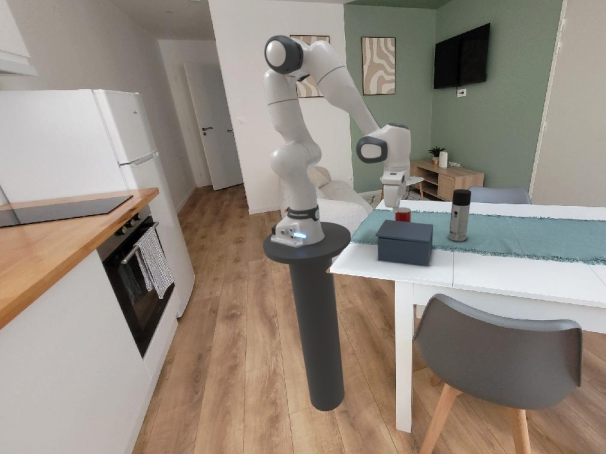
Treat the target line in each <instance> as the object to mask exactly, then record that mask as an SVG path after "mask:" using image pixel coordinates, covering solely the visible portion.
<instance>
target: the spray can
mask: <svg viewBox="0 0 606 454" xmlns="http://www.w3.org/2000/svg"><path fill="white" fill-rule="evenodd" d="M471 200H472V191H471V190H470V189H466V188H464V189H463V188H458V189H454V190H453V191H452V201H451V209H450V210H451V211H450V219H449V220H450V221H449V231H448V232H449V233H448V238H449V240H451V241H453V242H457V243H461V242H464V241H466V238H467V233H468V225H469V217H470V208H471Z"/></svg>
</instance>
